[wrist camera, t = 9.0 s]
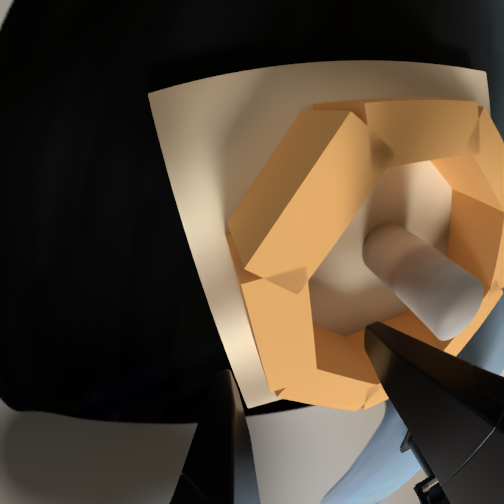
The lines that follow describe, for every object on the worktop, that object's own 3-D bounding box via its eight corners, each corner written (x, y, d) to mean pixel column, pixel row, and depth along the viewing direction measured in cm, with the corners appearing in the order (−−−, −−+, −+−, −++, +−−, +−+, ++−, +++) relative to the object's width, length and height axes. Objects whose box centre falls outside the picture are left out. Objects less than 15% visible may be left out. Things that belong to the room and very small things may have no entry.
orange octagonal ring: (455, 309, 16) (488, 340, 13) (266, 385, 15) (283, 438, 12) (470, 97, 10) (525, 106, 7) (198, 125, 9) (202, 129, 6)
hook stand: (457, 309, 18) (512, 362, 13) (244, 392, 17) (268, 486, 11) (470, 71, 11) (565, 81, 5) (151, 96, 10) (106, 72, 4)
